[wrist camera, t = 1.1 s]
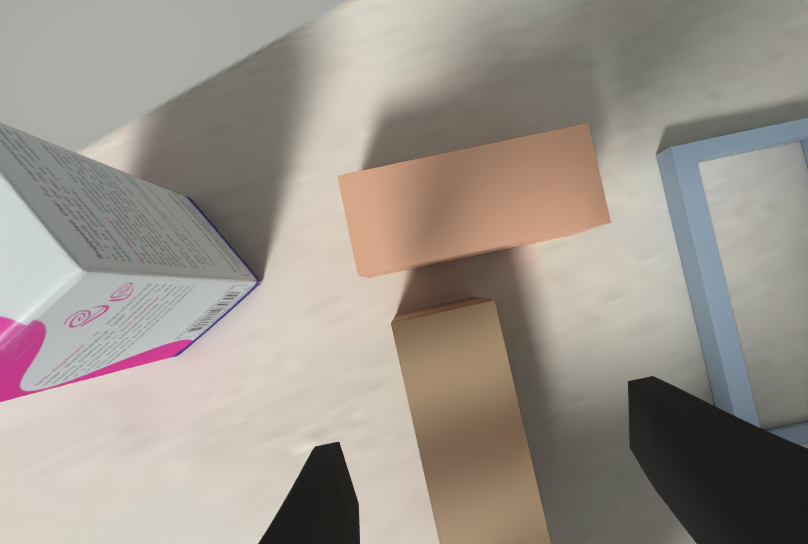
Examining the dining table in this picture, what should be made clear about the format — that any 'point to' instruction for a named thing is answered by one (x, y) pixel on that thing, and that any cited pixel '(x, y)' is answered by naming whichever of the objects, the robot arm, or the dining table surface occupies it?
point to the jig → (718, 262)
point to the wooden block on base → (469, 425)
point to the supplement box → (100, 268)
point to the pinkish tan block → (473, 201)
